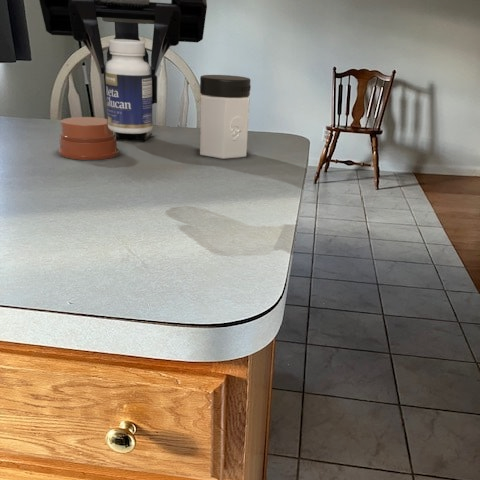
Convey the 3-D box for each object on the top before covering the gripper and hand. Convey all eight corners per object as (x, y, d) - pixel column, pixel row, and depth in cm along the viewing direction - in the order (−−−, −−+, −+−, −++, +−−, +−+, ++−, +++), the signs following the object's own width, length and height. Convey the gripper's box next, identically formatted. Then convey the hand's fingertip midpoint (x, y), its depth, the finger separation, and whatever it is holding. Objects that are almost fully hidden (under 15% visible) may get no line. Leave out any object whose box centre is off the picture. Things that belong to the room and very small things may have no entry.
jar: (212, 160, 88) (214, 80, 82) (188, 150, 93) (188, 74, 88) (257, 156, 92) (262, 79, 86) (231, 147, 98) (235, 74, 92)
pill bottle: (99, 131, 64) (93, 39, 60) (120, 124, 69) (115, 38, 64) (141, 136, 63) (138, 43, 58) (159, 128, 68) (158, 41, 63)
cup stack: (71, 145, 92) (68, 114, 90) (125, 149, 92) (124, 118, 89) (49, 157, 84) (45, 123, 81) (109, 161, 83) (107, 128, 81)
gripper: (28, -114, 56) (26, 10, 52) (207, -96, 60) (217, 21, 56) (47, -22, 67) (46, 87, 63) (197, -11, 70) (206, 93, 66)
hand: (127, 72), depth 62 cm, fingers closed on pill bottle, 5 cm apart
